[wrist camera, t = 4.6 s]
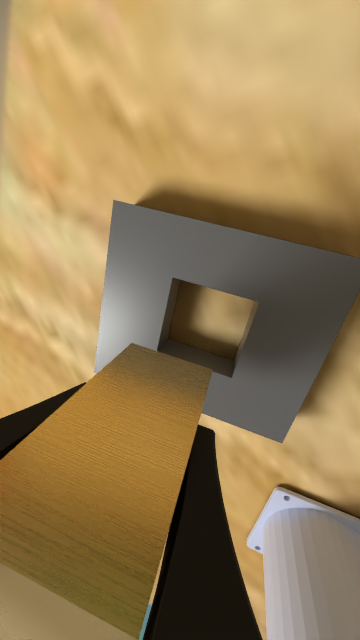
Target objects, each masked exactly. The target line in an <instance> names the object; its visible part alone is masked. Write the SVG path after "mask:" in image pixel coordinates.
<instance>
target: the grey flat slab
mask: <svg viewBox="0 0 360 640" xmlns="http://www.w3.org/2000/svg"><path fill="white" fill-rule="evenodd" d="M181 280H184V281H187V282H191V283H194V284H198V285H201V286H205V287H208V288H212V289H215V290H219V291H222V292H226V293H229V294H233V295H237V296H240V297H244V298H247V299H251V300H254V301H255V303H254V306H253V309H252V311H251V314H250V317H249V320H248V323H247V326H246V328H245V331H244V334H243V337H242V340H241V343H240V345H239V348H238V351H237V354H236V357H235V360H231V359H228V358H225V357H222V356H219V355H216V354H213V353H210V352H207V351H204V350H201V349H198V348H195V347H192V346H189V345H186V344H183V343H180V342H177V341H174V340H171V339H168V336H169V331H170V327H171V323H172V318H173V314H174V310H175V305H176V301H177V296H178V292H179V288H180V283H181ZM359 291H360V258H357V257H353V256H348V255H344V254H340V253H336V252H331V251H327V250H323V249H319V248H315V247H310V246H306V245H302V244H298V243H293V242H289V241H285V240H281V239H276V238H272V237H268V236H264V235H260V234H255V233H251V232H247V231H243V230H238V229H234V228H230V227H226V226H221V225H217V224H213V223H209V222H205V221H200V220H196V219H192V218H188V217H183V216H179V215H175V214H171V213H166V212H162V211H158V210H154V209H150V208H145V207H141V206H137V205H133V204H128V203H124V202H120V201H116V200H113V209H112V218H111V227H110V236H109V245H108V254H107V263H106V272H105V281H104V290H103V299H102V307H101V316H100V325H99V334H98V343H97V352H96V361H95V370H94V373H98V372H100V371H101V370H102V369H103V368H104V367H105V366H106V365H107V364H108V363H110V362H111V361H112V360H113V359H114V358H115V357H116V356H117V355H118V354H120V353H121V352H122V351H123V350H124V349H125V348H126V347H127V346H128V345H130V344H131V343H134V344H137V345H140V346H143V347H146V348H149V349H152V350H155V351H158V352H161V353H164V354H167V355H170V356H173V357H176V358H179V359H182V360H185V361H188V362H191V363H194V364H197V365H200V366H203V367H206V368H209V369H212V370H213V372H212V375H211V379H210V383H209V386H208V390H207V393H206V397H205V401H204V404H203V408H202V412H201V413H203V414H206V415H208V416H211V417H214V418H216V419H219V420H221V421H224V422H227V423H229V424H232V425H235V426H237V427H240V428H243V429H245V430H248V431H251V432H253V433H256V434H259V435H261V436H264V437H267V438H269V439H272V440H275V441H277V442H280V443H283V441H284V439H285V437H286V435H287V433H288V431H289V429H290V427H291V425H292V423H293V421H294V419H295V417H296V415H297V413H298V411H299V409H300V407H301V405H302V403H303V401H304V399H305V397H306V395H307V393H308V392H309V390H310V388H311V386H312V384H313V382H314V380H315V378H316V376H317V374H318V372H319V370H320V368H321V366H322V364H323V362H324V360H325V358H326V356H327V354H328V352H329V350H330V348H331V346H332V344H333V342H334V340H335V339H336V337H337V335H338V333H339V331H340V329H341V327H342V325H343V323H344V321H345V319H346V317H347V315H348V313H349V311H350V309H351V307H352V305H353V303H354V301H355V299H356V297H357V295H358V293H359Z"/></svg>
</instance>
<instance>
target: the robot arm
mask: <svg viewBox="0 0 360 640" xmlns="http://www.w3.org/2000/svg"><path fill="white" fill-rule="evenodd" d="M85 384H86V382H85V383H83V384H80V385H78V386H76V387H74V388H71V389H69V390H67V391H65V392H63V393H60V394H58V395H56V396H54V397H51V398H49V399H47V400H45V401H42V402H40V403H38V404H35V405H33V406H31V407H29V408H26V409H24V410H21V411H19V412H16V413H13V414H11V415H8V416H6V417H3V418H1V419H0V460H1V459H3V458H4V457H5V456H6V455H7V454H8V453H9V452H10V451H11V450H13V449H14V448H15V447H16V446H17V445H18V444H19V443H20V442H21V441H23V440H24V439H25V438H26V437H27V436H28V435H29V434H30V433H32V432H33V431H34V430H35V429H36V428H37V427H38V426H39V425H40V424H42V423H43V422H44V421H45V420H46V419H47V418H48V417H49V416H50V415H52V414H53V413H54V412H55V411H56V410H57V409H58V408H59V407H61V406H62V405H63V404H64V403H65V402H66V401H67V400H68V399H69V398H71V397H72V396H73V395H74V394H75V393H76V392H77V391H78V390H79V389H81V388H82V387H83V386H84V385H85ZM247 546H248V547H249V548H251V549H253V550H255V551H257V552H260V553H262V554H263V560H264V583H265V606H266V629H267V640H360V519H359V518H356V517H354V516H351V515H349V514H346V513H344V512H341V511H339V510H336V509H334V508H332V507H329V506H327V505H324V504H322V503H319V502H317V501H314V500H312V499H309V498H307V497H305V496H302V495H300V494H297V493H295V492H292V491H290V490H287V489H285V488H282V487H276V488H275V489H274V490H273V492H272V494H271V496H270V498H269V499H268V501H267V503H266V505H265V507H264V509H263V510H262V512H261V514H260V516H259V518H258V520H257V522H256V523H255V525H254V527H253V529H252V531H251V533H250V534H249V536H248V538H247ZM143 640H263V639H262V636H261V634H260V631H259V628H258V625H257V622H256V619H255V616H254V613H253V610H252V607H251V604H250V601H249V597H248V594H247V591H246V588H245V584H244V581H243V578H242V574H241V571H240V567H239V564H238V560H237V557H236V553H235V549H234V546H233V542H232V538H231V534H230V530H229V525H228V521H227V517H226V512H225V508H224V503H223V498H222V492H221V486H220V481H219V475H218V468H217V460H216V449H215V433H214V431H213V430H211V429H209V428H206V427H203V426H201V425H198V426H197V430H196V433H195V437H194V440H193V444H192V448H191V451H190V455H189V459H188V462H187V466H186V469H185V473H184V477H183V480H182V484H181V488H180V491H179V495H178V498H177V502H176V506H175V509H174V513H173V516H172V520H171V524H170V527H169V532H168V537H167V541H166V546H165V551H164V556H163V561H162V566H161V571H160V575H159V580H158V584H157V588H156V592H155V596H154V600H153V603H152V607H151V611H150V615H149V618H148V622H147V626H146V629H145V633H144V637H143Z"/></svg>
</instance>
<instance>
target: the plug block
mask: <svg viewBox="0 0 360 640" xmlns="http://www.w3.org/2000/svg"><path fill="white" fill-rule="evenodd" d="M212 372H213V370H212V369H209V368H206V367H203V366H200V365H197V364H194V363H191V362H188V361H185V360H182V359H179V358H176V357H173V356H170V355H167V354H164V353H161V352H158V351H155V350H152V349H149V348H146V347H143V346H140V345H137V344H134V343H131V344H130V345H128V346H127V347H126V348H125V349H124V350H123V351H122V352H121V353H120V354H118V355H117V356H116V357H115V358H114V359H113V360H112V361H111V362H110V363H108V364H107V365H106V366H105V367H104V368H103V369H102V370H101V371H100V372H98V373H97V374H96V375H95V376H94V377H93V378H92V379H91V380H89V381H88V382H87V383H86V384H85V385H84V386H83V387H82V388H81V389H79V390H78V391H77V392H76V393H75V394H74V395H73V396H72V397H71V398H69V399H68V400H67V401H66V402H65V403H64V404H63V405H62V406H61V407H59V408H58V409H57V410H56V411H55V412H54V413H53V414H52V415H50V416H49V417H48V418H47V419H46V420H45V421H44V422H43V423H42V424H40V425H39V426H38V427H37V428H36V429H35V430H34V431H33V432H32V433H30V434H29V435H28V436H27V437H26V438H25V439H24V440H23V441H21V442H20V443H19V444H18V445H17V446H16V447H15V448H14V449H13V450H11V451H10V452H9V453H8V454H7V455H6V456H5V457H4V458H3V459H1V460H0V640H138V639H139V636H140V632H141V629H142V625H143V621H144V617H145V614H146V610H147V607H148V603H149V600H150V596H151V592H152V589H153V585H154V582H155V578H156V574H157V571H158V567H159V564H160V560H161V556H162V553H163V549H164V545H165V542H166V538H167V535H168V531H169V527H170V524H171V520H172V516H173V513H174V509H175V506H176V502H177V498H178V495H179V491H180V488H181V484H182V480H183V477H184V473H185V469H186V466H187V462H188V459H189V455H190V451H191V448H192V444H193V440H194V437H195V433H196V430H197V426H198V422H199V419H200V415H201V412H202V408H203V404H204V401H205V397H206V393H207V390H208V386H209V383H210V379H211V375H212Z"/></svg>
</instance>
